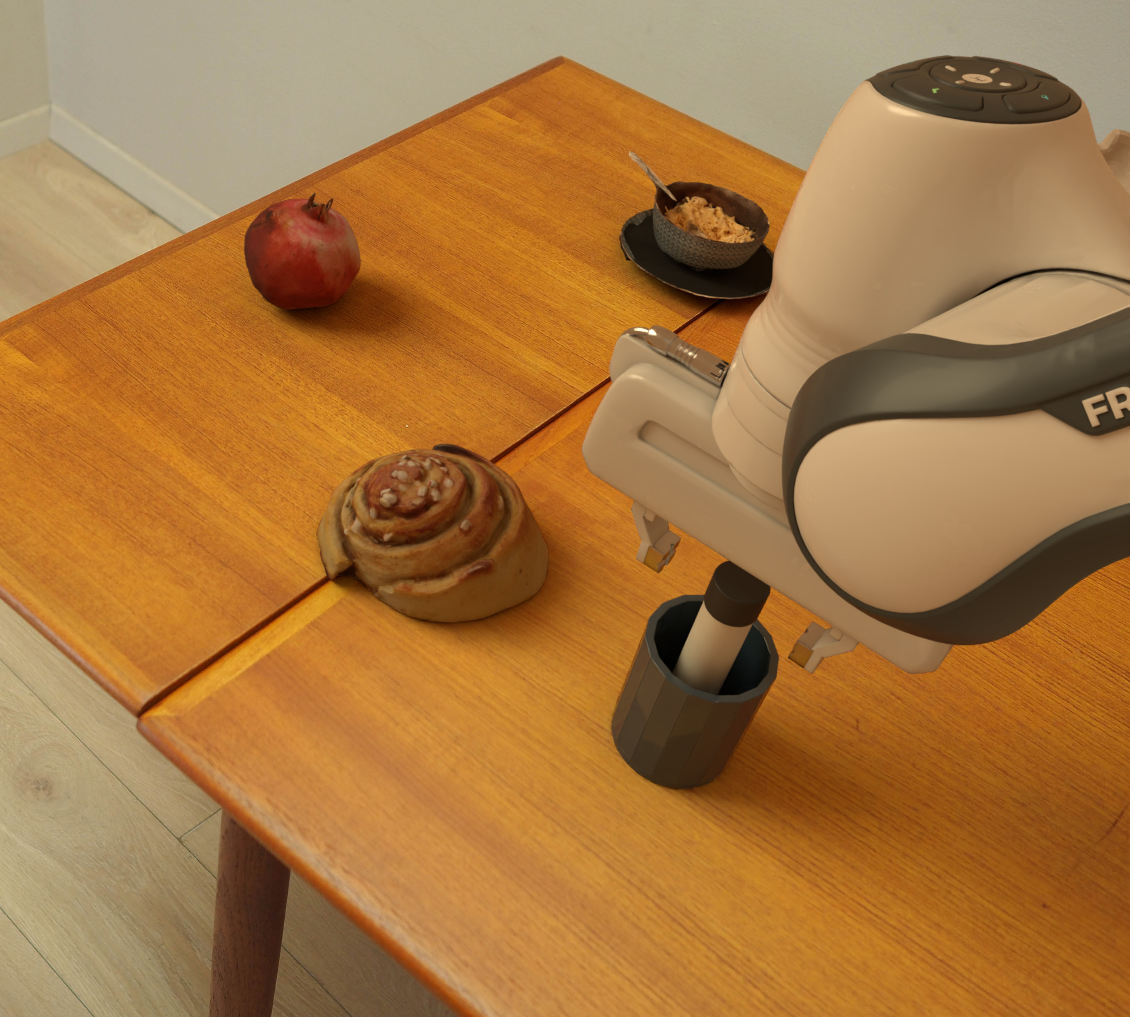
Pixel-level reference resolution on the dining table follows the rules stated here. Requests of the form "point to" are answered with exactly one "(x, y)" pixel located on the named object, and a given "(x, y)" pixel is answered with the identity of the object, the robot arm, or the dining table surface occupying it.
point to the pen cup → (687, 702)
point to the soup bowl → (701, 240)
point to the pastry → (435, 535)
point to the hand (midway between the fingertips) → (727, 608)
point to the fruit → (301, 254)
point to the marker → (721, 627)
